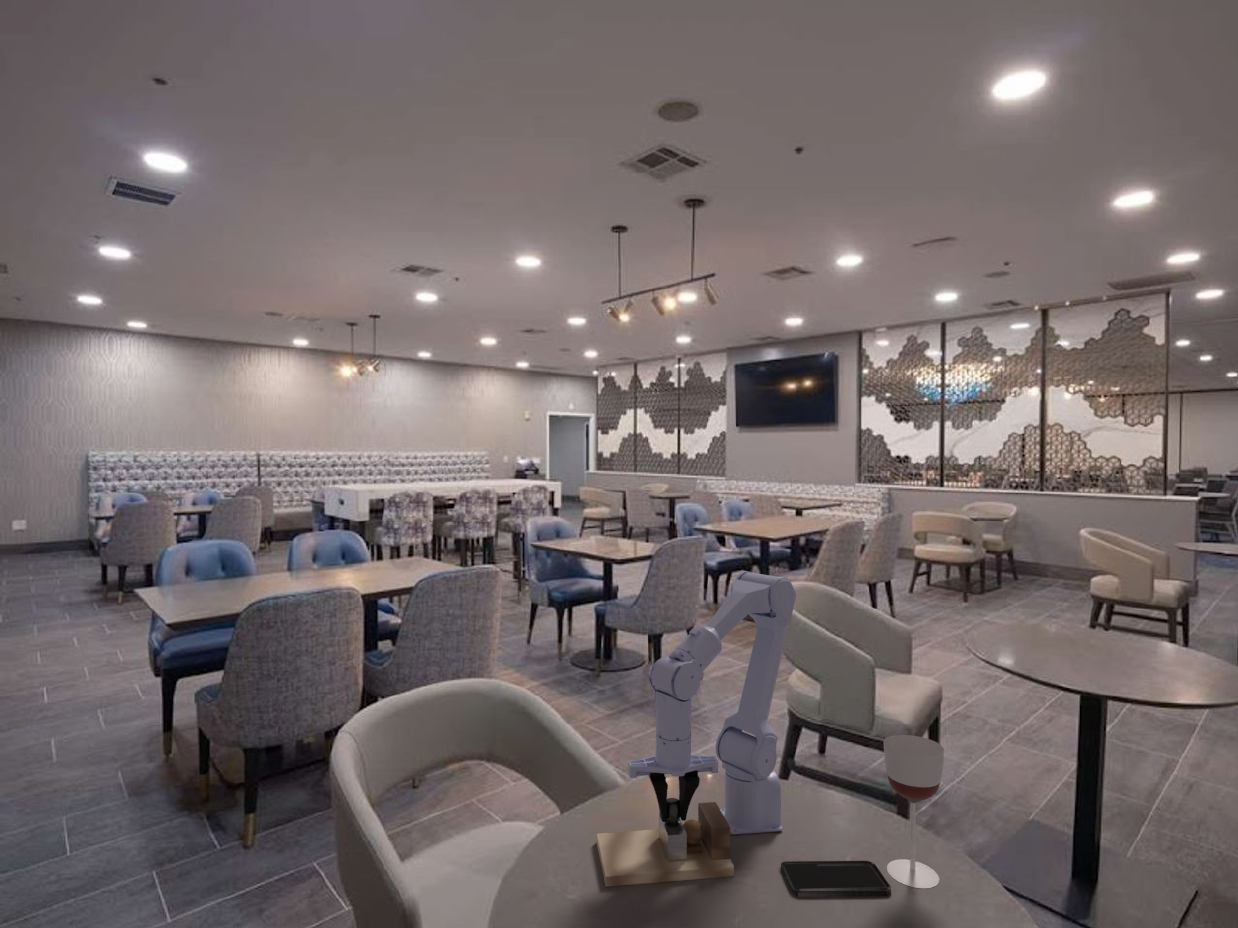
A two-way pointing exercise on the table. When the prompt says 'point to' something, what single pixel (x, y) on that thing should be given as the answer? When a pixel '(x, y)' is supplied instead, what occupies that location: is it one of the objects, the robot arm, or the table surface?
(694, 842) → the walnut
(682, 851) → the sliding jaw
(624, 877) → the base
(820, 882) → the phone
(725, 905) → the table surface
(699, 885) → the table surface
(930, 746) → the wineglass
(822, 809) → the table surface
